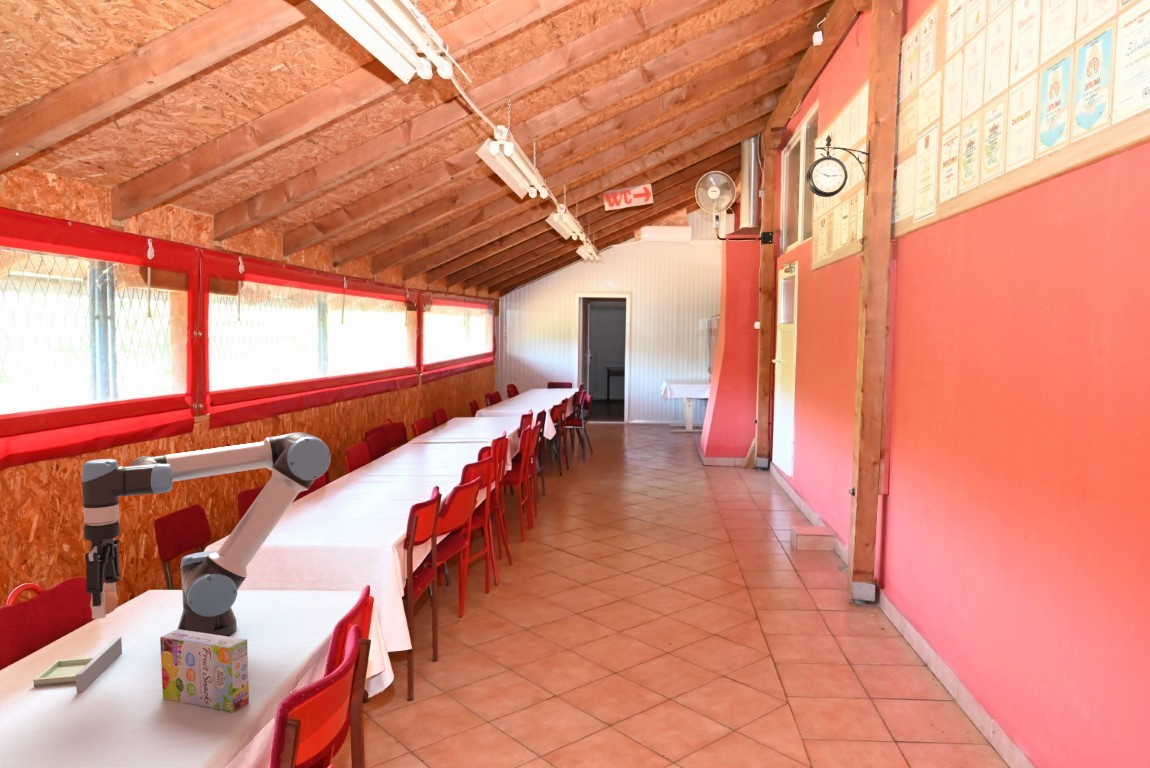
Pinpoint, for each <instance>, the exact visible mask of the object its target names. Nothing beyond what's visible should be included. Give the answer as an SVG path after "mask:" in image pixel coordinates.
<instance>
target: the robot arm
mask: <svg viewBox="0 0 1150 768" xmlns="http://www.w3.org/2000/svg"><path fill="white" fill-rule="evenodd" d="M331 460H332V457H331V451H330V449H329V447H328V445H327V444H326V443H325V442H324V441H323V440H322V439H321V438H320V437H317V436H315V435H313V434H310V433H309V432H304V431H298V432H297V431H296V432H291V433H286V434H281V435H276V436H271V437H270V436H269V437H265V438H264V439H263V440H262V441H259V442H258V441H257V442H252V443H245V444H237V445H230V446H223V447H216V448H209V449H207V448H206V449H203V450H202V449H201V450H195V451H187V452H179V453H171V454H165V455H157V456H156V455H155V456H148V455H147V456H145V455H144V456H139V457H138V458H136V459H134V460H133V461H132V462H131V464H129V466H122V465H121V466H119V464H118V460H117V459H113V458H102V459H101V458H100V459H93V460H88V461H86V462H83V465H82V467H81V469H82V470H81V471H82V473H81V489H82V490H81V491H82V510H81V513H82V514H83V523H85V524H84V525H83V539H84V540H86V541H89V542H91V546H90V550H89V551H90V552H85V555H84V558H85V562H86V563H85V565H86V567H85V572H86V573H85V577H86V579H85V580H86V581H85V582H86V583H85V584H86V586H85V587H86V588H85V590H86V592H85V593H86V594H90V595H91V596H90V597H91V599H92V610H91V619H93V620H94V619H95V620H96V619H105V618H106V613H105V591H103V590H109V591H112V592H114V593H115V594H116V595H117V582H120V581H121V577H120V576H121V573H120V571H121V570H120V558H119V557H120V556H119V552H120V551H119V542H120V540H119V539H118V538H117V537H119V536H120V535H121V534H120V532H121V531H120V529H121V527H120V521H119V520H120V517H121V516H120V503H119V502H120V501H119V498H120V497H129V496H130V497H132V496H143V495H154V494H155V495H159V494H164V493H168V492H171V491H172V490H173V483H174V482H179V481H185V480H192V479H198V478H203V477H204V478H205V477H212V476H213V477H214V476H219V475H225V474H233V473H237V472H244V471H251V470H257V469H265V468H266V469H267V470H268V471H271V473H272V475H271V477H270V478H269V480H268V481H267V483H266V484H265V485H264V487H263V488H262V489H261V491H260V492H259V494H258V495H257V496H256V498H255V499H254V500H253V502H252V504H250V506H249V508H248V509H247V511H246V512H245V513H244V515H243V516H242V517H241V518H240V520H239V522H238V523H237V524H236V525H235V527H234V528H233V530H232V531H231V533H230V534H229V536H228V537H227V538H226V540H224V543H223V544H222V545H221V547H220V548H219V549H218V550H209V551H201V552H195V553H190V554H187V555H185V556H183V557H181V561H180V566H179V567H180V570H181V571H180V573H181V590H182V591H181V592H182V593H181V594H182V608H183V609H182V612H181V617H180V619H179V622H178V626H177V629H180V630H187V631H194V632H200V633H207V634H214V635H221V636H227V637H229V636H230V635H231V634H233V633H234V632H235V631H236V630H237V628H238V627H237V618H236V616H235V613H234V611H233V609H232V606H233V605H234V604H235V602H236V600H237V596H238V590H239V589H240V587H241V586H242V584H243V582H244V581H245V580H246V578H247V577H248V570H247V567H248V566H249V564H250V563H251V562H252V561H253V559H254V557H255V556H256V554H257V553H258V552H259V550H260V549H261V547H262V546H263V545H264V543H265V542H266V540H267V538H268V537H269V536H270V534H271V533H272V532H273V531H274V528H276V526H277V525H278V523H279V522H280V520H281V519H282V518H283V516H284V515H285V513H286V512H287V510H288V509H289V508H290V506H291V505H292V504H293V502H294V501H295V499H296V498H297V496H298V495H299V494H300V493H301V492H304V491H308V490H309V489H310V487H311V486H312V484H313V483H314V482H315V481H316V480H317V479H319V478H320V477H322V476H324V474H326V472H327V471H328V470H329V467H330V465H331ZM114 538H115V539H114ZM116 538H117V539H116ZM91 599H90V600H91ZM117 607H118V606H117ZM117 607H116V609H117Z"/></svg>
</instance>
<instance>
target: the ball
mask: <svg viewBox="0 0 1150 768" xmlns="http://www.w3.org/2000/svg"><path fill="white" fill-rule="evenodd" d="M103 591H105V613H106V615H109V614H111V613H113V612H114V611H115V610H116V609H117V608H116V607H118V605H119V597H118V595H117V593H116V594H115V593H114V592H112V591H109V590H103ZM89 608H90V610H91V611H92V599H90V602H89Z"/></svg>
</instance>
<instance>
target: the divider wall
mask: <svg viewBox="0 0 1150 768" xmlns="http://www.w3.org/2000/svg"><path fill="white" fill-rule="evenodd" d="M122 642H123V641H122V637H121V636H115V638H113V640H112V641H111V642H109V644H108V645H106V646H105V647H104V648H103V649H102V650H101V651H99V652H98V653H97V655H95V656H93V657H94V658H93V659H92V660H91V661H90V662H89V663H88V664H87V665H86V666H85V667H84V668H82V669H81V670H80V671H79V672H78V673H77V674H76V683H75V685H76V687H75V688H76V694H82V693H84V692H85V691H86V690H88V689H89V687H90V686H91V685H92V684H93V682H95V680H97V679H98V678H99V677H100V676H101V675H102V674H103V672H105V671H106V670H107V669H108V668H109V667H110V666H111V665H113V663H114V662H115V661H116V660H117V659H118V658H119V657H120V656H122V654H123V646H122V645H123V644H122Z"/></svg>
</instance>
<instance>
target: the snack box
mask: <svg viewBox="0 0 1150 768" xmlns="http://www.w3.org/2000/svg"><path fill="white" fill-rule="evenodd" d="M159 641H160V658H161V659H160V662H161V663H160V665H161V684H162V685H161V686H162V687H161V690H162V699H163V700H164V699H165V700H168V701H169V700H170V701H174V702H175V701H176V702H181V703H183V704H184V703H186V704H190V705H195V706H200V707H206V708H210V709H214V710H215V709H216V710H220V711H226V712H231V713H234V712H235V711H237V710H239V709H241V708H243V707H244V706H245V705H247V704H249V702H250V696H249V695H250V691H249V689H250V688H249V661H248V660H249V659H248V658H249V657H248V639H246V638H241V637H233V636H221V635H214V634H207V633H200V632H194V631H187V630H180V629H178V628H177V629H175V630H173V631H171V632H168V633H166V634H164V635H161V636H160V639H159Z"/></svg>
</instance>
